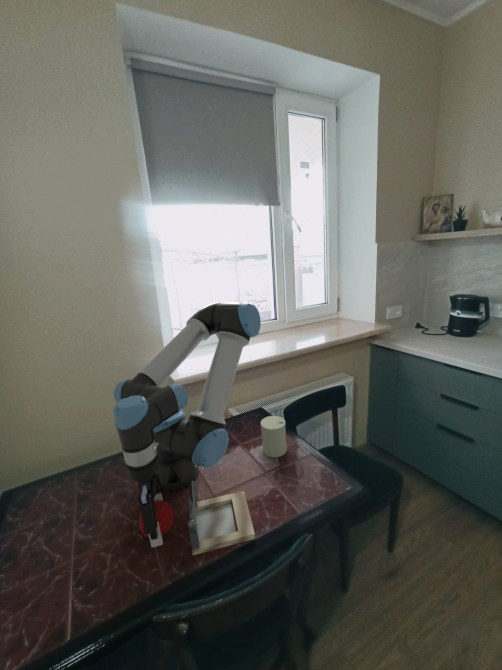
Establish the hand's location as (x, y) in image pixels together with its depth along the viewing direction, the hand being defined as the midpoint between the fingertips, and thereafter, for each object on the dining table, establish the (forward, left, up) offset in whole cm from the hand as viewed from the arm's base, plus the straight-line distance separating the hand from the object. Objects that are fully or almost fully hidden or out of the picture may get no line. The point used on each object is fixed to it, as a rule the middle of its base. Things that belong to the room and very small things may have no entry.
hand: (159, 528), depth 78 cm
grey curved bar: (+7, +6, -1) cm, 10 cm away
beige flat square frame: (+12, +12, -2) cm, 17 cm away
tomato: (0, 0, -1) cm, 1 cm away
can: (+9, +46, -3) cm, 47 cm away
